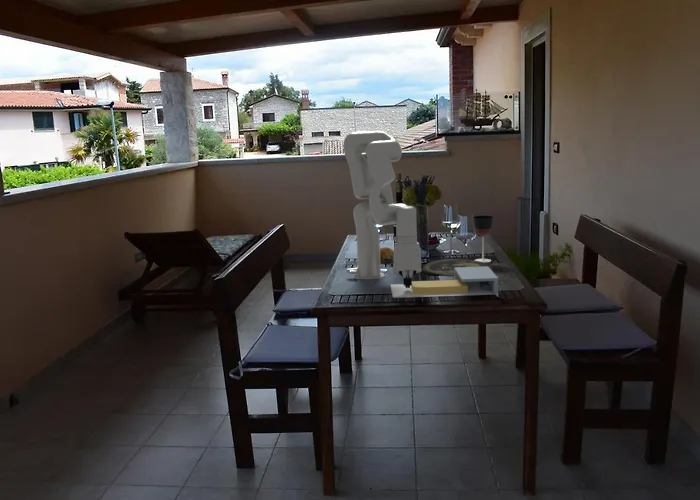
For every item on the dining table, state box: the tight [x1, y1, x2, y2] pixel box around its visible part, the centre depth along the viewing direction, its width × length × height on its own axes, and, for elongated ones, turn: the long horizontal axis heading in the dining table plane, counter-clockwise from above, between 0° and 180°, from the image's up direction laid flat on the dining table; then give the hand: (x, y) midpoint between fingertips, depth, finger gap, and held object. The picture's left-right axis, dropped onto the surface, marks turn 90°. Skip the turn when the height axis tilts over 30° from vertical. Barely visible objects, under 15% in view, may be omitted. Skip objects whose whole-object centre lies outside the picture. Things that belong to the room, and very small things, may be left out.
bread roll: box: [380, 246, 394, 264], centre depth 284 cm, size 10×10×8 cm
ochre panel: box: [411, 279, 468, 294], centre depth 228 cm, size 20×9×2 cm, turn 89°
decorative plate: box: [422, 258, 494, 277], centre depth 261 cm, size 30×2×30 cm
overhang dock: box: [390, 266, 499, 299], centre depth 228 cm, size 38×18×7 cm, turn 89°
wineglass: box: [472, 215, 494, 263], centre depth 274 cm, size 8×9×20 cm
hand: (407, 287), depth 229 cm, fingers closed
